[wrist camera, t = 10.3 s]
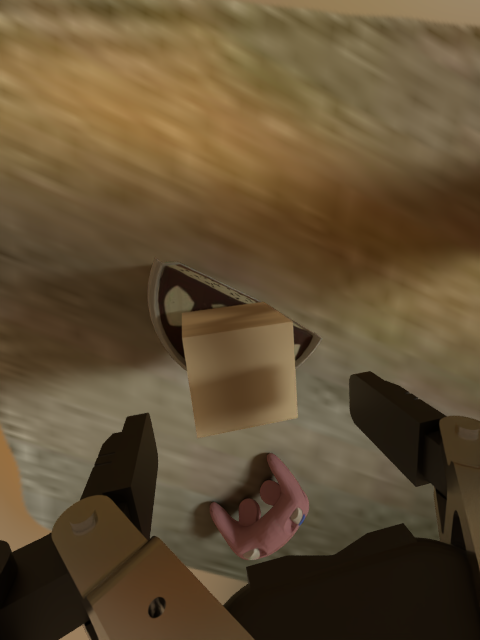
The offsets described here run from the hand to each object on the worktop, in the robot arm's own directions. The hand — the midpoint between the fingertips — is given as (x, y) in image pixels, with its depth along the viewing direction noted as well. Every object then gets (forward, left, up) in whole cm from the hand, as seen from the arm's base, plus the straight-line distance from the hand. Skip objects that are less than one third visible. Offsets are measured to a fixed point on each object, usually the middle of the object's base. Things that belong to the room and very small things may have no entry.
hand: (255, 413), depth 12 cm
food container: (0, 0, -18) cm, 18 cm away
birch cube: (0, 0, -7) cm, 7 cm away
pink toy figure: (-2, +21, -18) cm, 28 cm away
